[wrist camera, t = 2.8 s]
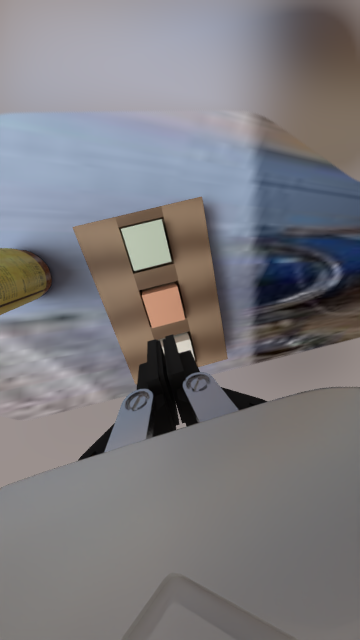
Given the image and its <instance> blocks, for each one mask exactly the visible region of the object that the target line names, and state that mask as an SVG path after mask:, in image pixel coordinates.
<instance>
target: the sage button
mask: <svg viewBox="0 0 360 640" xmlns="http://www.w3.org/2000/svg"><path fill="white" fill-rule="evenodd" d="M121 231H122V234H123V237H124V240H125V244H126V247H127V250H128V253H129V256H130V259H131V263H132V266H133V269H134V271H136V270H140V269H144V268H148V267H152V266H156V265H160V264H164V263H168V262H172V261H171V257H170V253H169V248H168V244H167V240H166V236H165V232H164V227H163V223H162V219H160V220H156V221H152V222H148V223H144V224H139V225H135V226H131V227H127V228H123V229H121Z"/></svg>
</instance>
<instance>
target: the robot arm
mask: <svg viewBox="0 0 360 640" xmlns="http://www.w3.org/2000/svg"><path fill="white" fill-rule="evenodd" d="M162 341H163V348H164V352H163V349H162V345H161V342H160V340H159V341H157V340H156V339H154V340H151V341H148V342H147V362H146V363H143V364H140V365H139V371H138V381H137V390H136V391H134V392H132V393H130V394H129V395H128V396H127V397H126V398H125V399H124V401H123V403H122V405H121V408H120V410H119V413H118V416H117V419H116V421H115V423H114V424H113V425H112V426H111V427H110V429H108V430H107V431H106V432H105V433H104V434H103V435H102V436H101V437H100V438H99V439H98V440H97V441H96V442H95V443H94V444H93V445H92V446H91V447H90V448H89V449H88V450H87V451H86V452H85V453H84V454H83V455H82V456H81V457H80V458H79V460H78V461H76V462H73V463H70V464H67V465H64V466H61V467H58V468H54V469H52V470H48V471H45V472H42V473H39V474H36V475H34V476H31V477H28V478H25V479H22V480H19V481H17V482H14V483H11V484H8V485H6V486H4V487H1V488H0V640H360V387H331V388H320V389H314V390H309V391H304V392H301V393H297V394H293V395H289V396H286V397H282V398H278V399H275V400H272V401H265V400H263V399H260V398H256V397H253V396H249V395H246V394H242V393H239V392H236V391H232V390H229V389H225V388H222V387H220V386H219V385H218V383H217V382H216V381H215V380H214V378H213V377H212V376H211V375H210V374H208V373H205V372H200V371H199V369H198V366H197V364H196V362H195V359H194V357H193V355H192V352H191V350H188V351H185V352H181V353H179V352H178V349H177V346H176V342H175V339H174V335H173V334H172V335H169V336H165V339H163V340H162ZM175 401H176V402H175ZM176 405H177V407H176ZM177 408H178V411H179V414H180V417H181V420H182V423H186V426H187V427H184V428H181V429H177V430H176V425H179V419H178V414H177Z"/></svg>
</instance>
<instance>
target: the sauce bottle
mask: <svg viewBox="0 0 360 640" xmlns="http://www.w3.org/2000/svg"><path fill="white" fill-rule="evenodd" d="M51 282H52V279H51V275H50V270H49V268H48V266H47V265H46V264H45V262H44V261H43V260H41V259H40V258H39V257H38V256H36V255H35V254H33V253H31V252H28V251H24V250H17V249H10V248H0V315H1V314H4V313H6V312H8V311H10V310H13V309H15V308H17V307H20V306H22V305H24V304H26V303H29V302H31V301H33V300H36V299H38V298H39V297H40V296H42V295H43V294H44V293H46V291H47V290H48V289H49V288H50V286H51Z"/></svg>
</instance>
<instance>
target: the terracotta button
mask: <svg viewBox="0 0 360 640" xmlns="http://www.w3.org/2000/svg"><path fill="white" fill-rule="evenodd" d="M142 298H143V301H144V304H145V307H146V310H147V313H148V317H149V320H150V323H151V326H152V328H155V327H159V326H163V325H166V324H170V323H174V322H178V321H181V320H185V316H184V312H183V308H182V303H181V299H180V295H179V291H178V286H177V285H176V284H175V283H171V284H167V285H163V286H159V287H155V288H151V289H147V290H144V291H143V293H142Z"/></svg>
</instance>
